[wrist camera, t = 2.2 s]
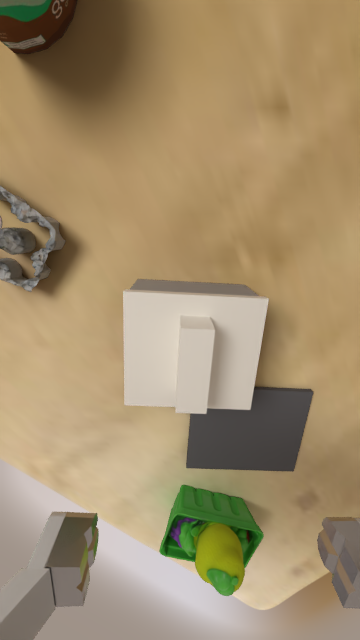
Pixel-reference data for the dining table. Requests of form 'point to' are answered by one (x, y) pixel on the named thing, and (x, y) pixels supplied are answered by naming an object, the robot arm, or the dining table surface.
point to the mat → (251, 432)
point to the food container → (34, 23)
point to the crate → (192, 287)
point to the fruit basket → (212, 536)
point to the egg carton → (26, 243)
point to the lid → (191, 349)
